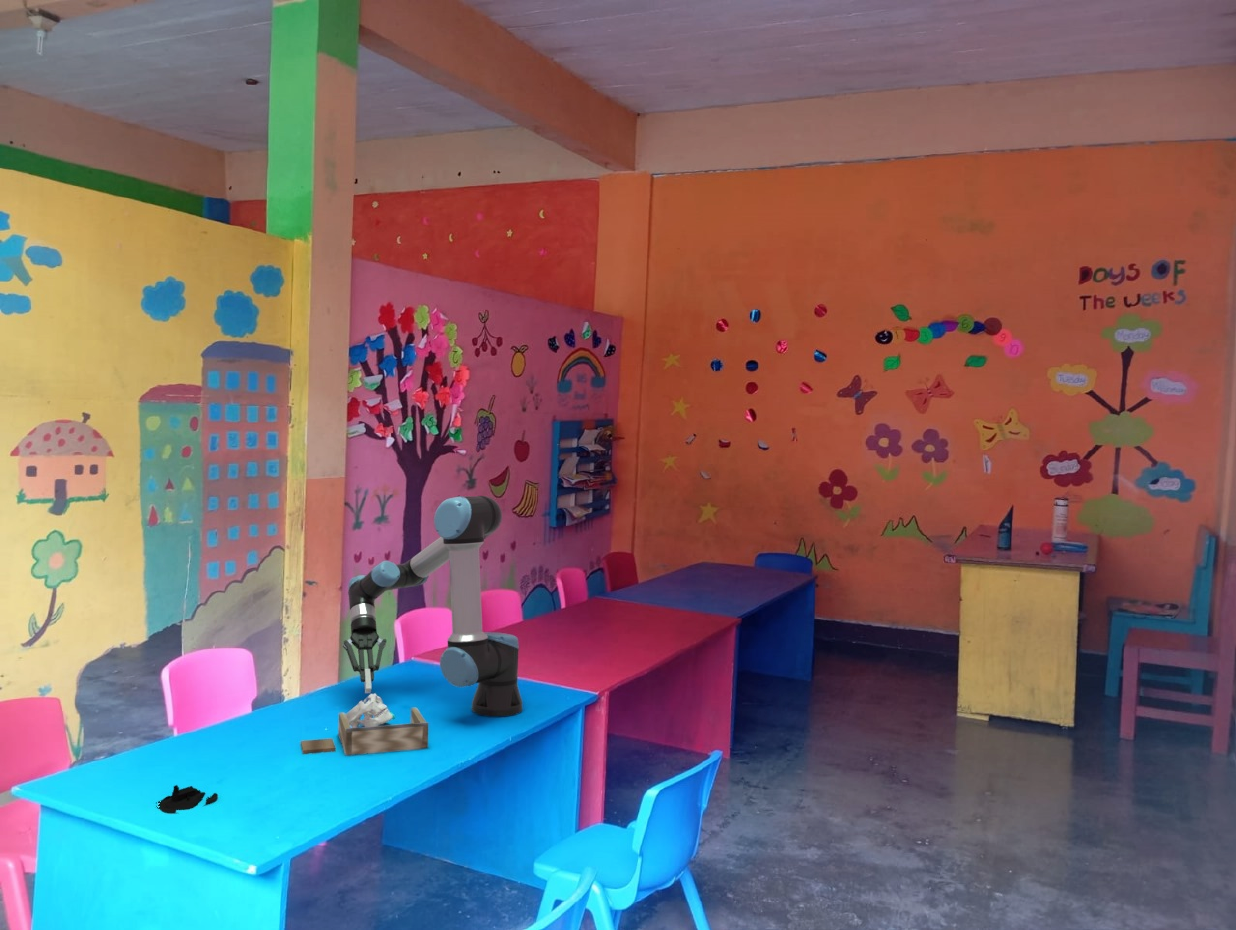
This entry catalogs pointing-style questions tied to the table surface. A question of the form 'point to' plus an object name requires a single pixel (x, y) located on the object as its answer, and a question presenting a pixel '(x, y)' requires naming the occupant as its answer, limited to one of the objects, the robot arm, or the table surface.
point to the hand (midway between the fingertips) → (368, 690)
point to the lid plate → (318, 746)
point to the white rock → (369, 713)
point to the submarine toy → (184, 800)
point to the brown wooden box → (384, 736)
